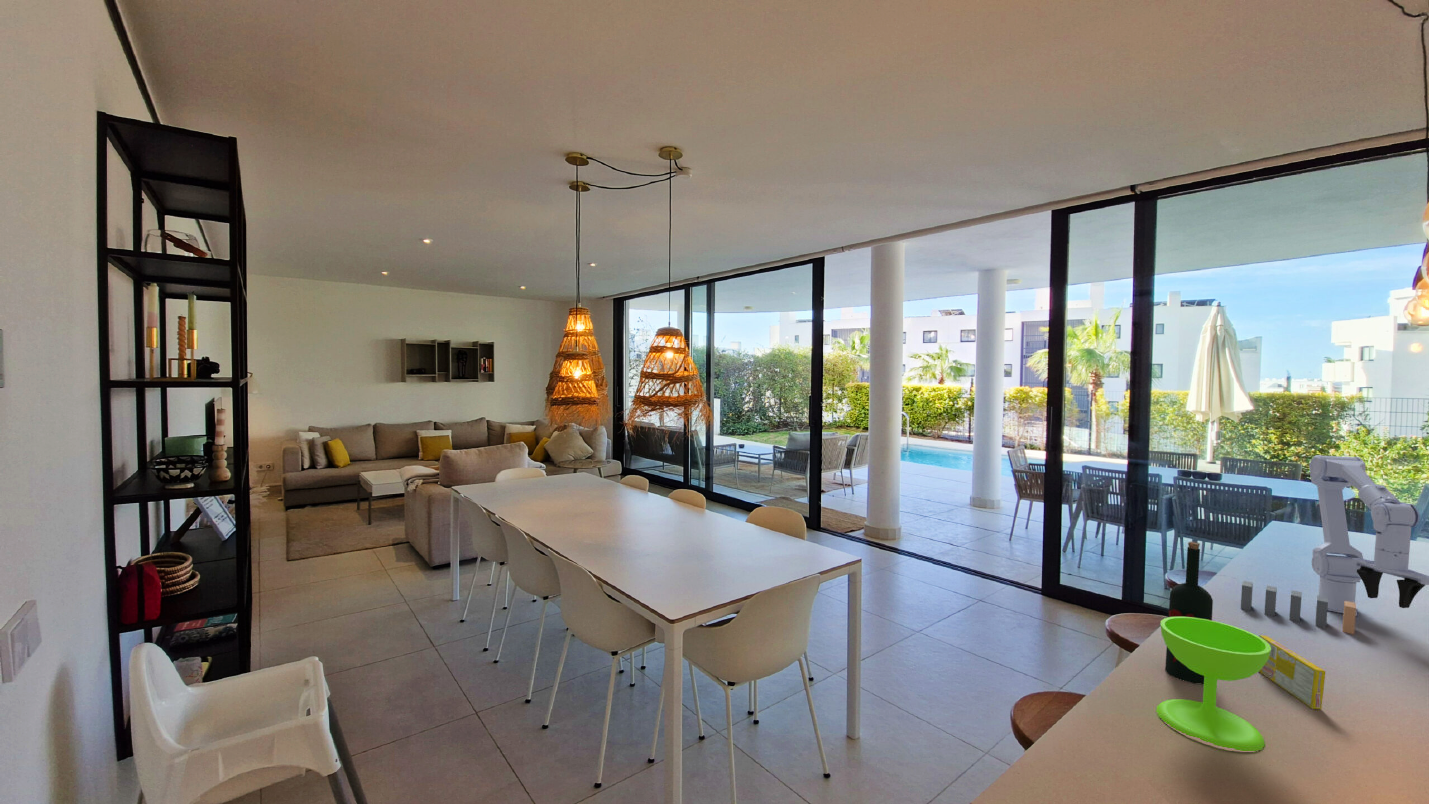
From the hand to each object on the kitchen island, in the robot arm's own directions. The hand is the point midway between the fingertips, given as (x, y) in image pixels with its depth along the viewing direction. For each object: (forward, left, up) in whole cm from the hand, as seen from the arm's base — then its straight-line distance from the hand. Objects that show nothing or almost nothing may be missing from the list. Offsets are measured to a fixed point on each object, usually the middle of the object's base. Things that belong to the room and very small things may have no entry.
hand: (1388, 602), depth 149 cm
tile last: (0, -27, -10) cm, 28 cm away
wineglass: (+82, -27, -10) cm, 87 cm away
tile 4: (0, -22, -10) cm, 24 cm away
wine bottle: (+62, -33, -10) cm, 71 cm away
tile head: (0, -7, -9) cm, 11 cm away
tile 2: (0, -12, -9) cm, 15 cm away
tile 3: (0, -17, -9) cm, 19 cm away
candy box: (+52, -17, -10) cm, 55 cm away
